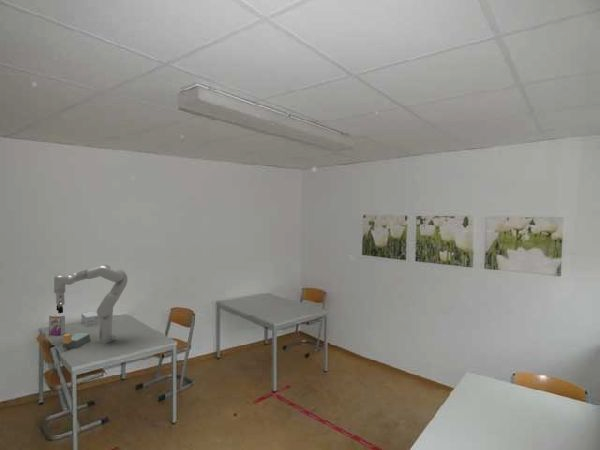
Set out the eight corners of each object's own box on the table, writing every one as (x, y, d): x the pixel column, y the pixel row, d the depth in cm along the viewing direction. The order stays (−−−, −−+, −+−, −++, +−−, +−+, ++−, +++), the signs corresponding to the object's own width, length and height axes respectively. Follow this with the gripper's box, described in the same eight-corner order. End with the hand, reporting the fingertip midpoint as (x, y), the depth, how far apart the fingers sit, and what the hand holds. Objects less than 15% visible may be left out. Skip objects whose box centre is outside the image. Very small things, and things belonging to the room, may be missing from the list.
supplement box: (101, 324, 335) (102, 314, 335) (86, 327, 326) (86, 317, 325) (96, 320, 347) (96, 310, 347) (81, 322, 338) (81, 313, 337)
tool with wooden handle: (77, 334, 291) (77, 326, 290) (89, 335, 290) (89, 327, 290) (58, 344, 270) (58, 335, 270) (71, 344, 270) (72, 336, 269)
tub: (76, 341, 291) (76, 333, 291) (89, 341, 291) (89, 334, 290) (62, 348, 275) (63, 340, 275) (76, 349, 275) (76, 341, 274)
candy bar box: (48, 334, 303) (48, 315, 302) (53, 332, 308) (53, 314, 307) (60, 335, 302) (60, 316, 301) (65, 333, 307) (65, 315, 306)
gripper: (66, 291, 280) (66, 313, 280) (63, 288, 293) (63, 308, 293) (55, 293, 275) (55, 315, 275) (52, 289, 288) (52, 310, 289)
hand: (59, 311), depth 284 cm, fingers open, 9 cm apart
